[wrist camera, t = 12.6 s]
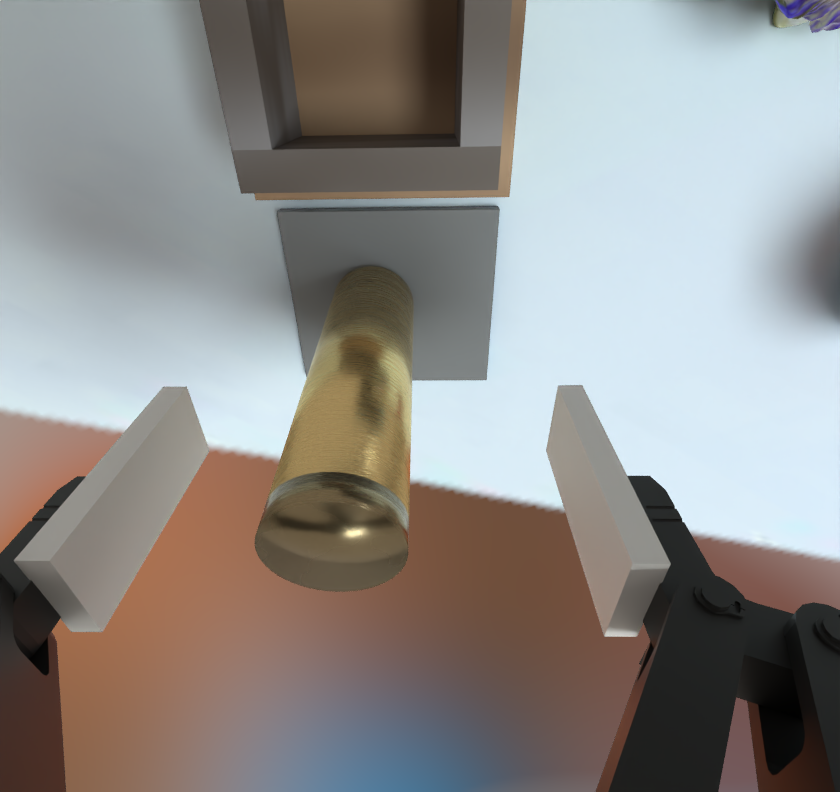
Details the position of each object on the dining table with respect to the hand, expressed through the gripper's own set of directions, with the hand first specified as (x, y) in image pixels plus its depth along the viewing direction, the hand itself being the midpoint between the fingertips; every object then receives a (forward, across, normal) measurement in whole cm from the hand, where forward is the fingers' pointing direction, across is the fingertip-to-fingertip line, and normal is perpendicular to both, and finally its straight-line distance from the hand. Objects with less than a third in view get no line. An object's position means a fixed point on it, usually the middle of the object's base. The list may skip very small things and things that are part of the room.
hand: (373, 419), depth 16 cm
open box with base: (+10, 0, +10) cm, 15 cm away
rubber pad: (+10, 0, 0) cm, 10 cm away
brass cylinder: (+9, -1, 0) cm, 9 cm away
